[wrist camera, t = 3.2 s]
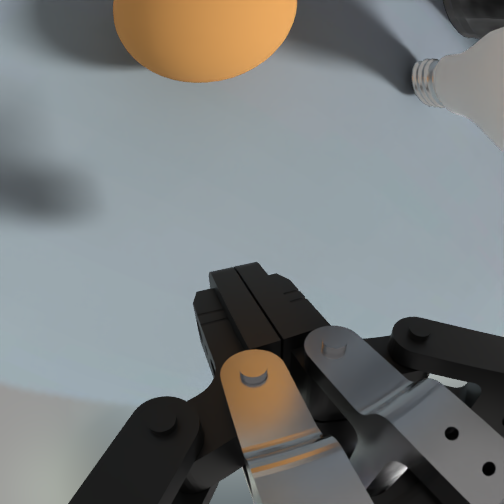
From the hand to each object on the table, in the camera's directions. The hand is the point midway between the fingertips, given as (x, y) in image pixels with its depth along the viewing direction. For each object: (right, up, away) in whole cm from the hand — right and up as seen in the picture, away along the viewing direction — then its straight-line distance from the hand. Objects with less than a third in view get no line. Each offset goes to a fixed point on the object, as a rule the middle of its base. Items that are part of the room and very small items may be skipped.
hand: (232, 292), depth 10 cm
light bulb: (+10, +11, +5) cm, 16 cm away
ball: (-1, +9, -2) cm, 10 cm away
